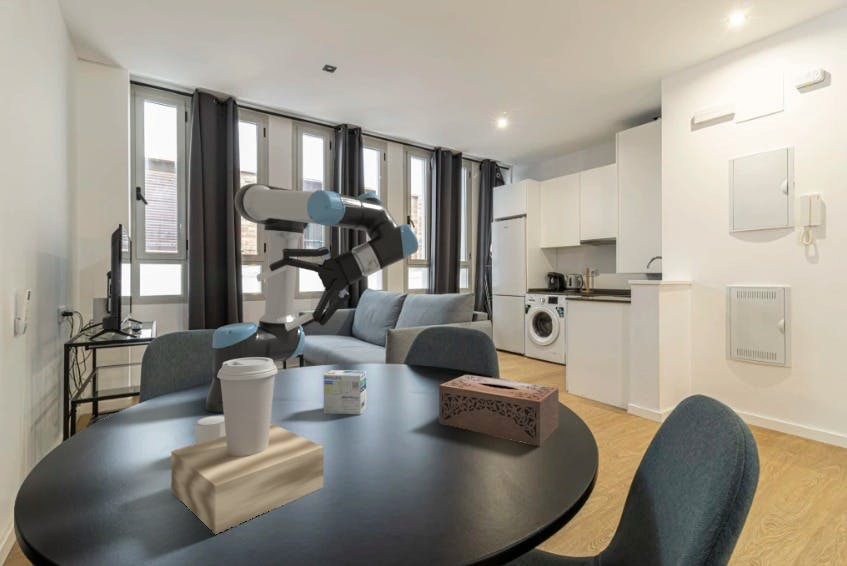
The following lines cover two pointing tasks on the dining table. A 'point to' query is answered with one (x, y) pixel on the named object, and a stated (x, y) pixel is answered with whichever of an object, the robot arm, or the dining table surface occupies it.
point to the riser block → (245, 477)
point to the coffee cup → (247, 403)
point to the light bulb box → (345, 392)
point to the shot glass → (209, 428)
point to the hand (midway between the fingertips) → (272, 303)
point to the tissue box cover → (500, 408)
